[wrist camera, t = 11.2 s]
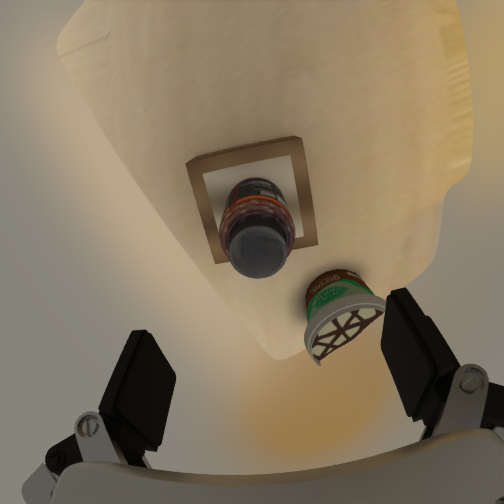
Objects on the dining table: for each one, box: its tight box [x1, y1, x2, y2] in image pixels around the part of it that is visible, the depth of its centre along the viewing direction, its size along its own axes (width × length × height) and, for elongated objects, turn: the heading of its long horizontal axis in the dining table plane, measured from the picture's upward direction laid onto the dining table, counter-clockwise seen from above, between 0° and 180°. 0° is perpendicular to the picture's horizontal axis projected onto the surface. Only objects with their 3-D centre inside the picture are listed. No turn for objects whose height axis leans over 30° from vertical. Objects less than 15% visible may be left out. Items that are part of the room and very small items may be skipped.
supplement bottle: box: [219, 177, 296, 279], centre depth 23 cm, size 6×6×11 cm
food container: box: [304, 269, 386, 366], centre depth 35 cm, size 12×6×10 cm, turn 138°
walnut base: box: [186, 136, 318, 264], centre depth 31 cm, size 12×12×5 cm
